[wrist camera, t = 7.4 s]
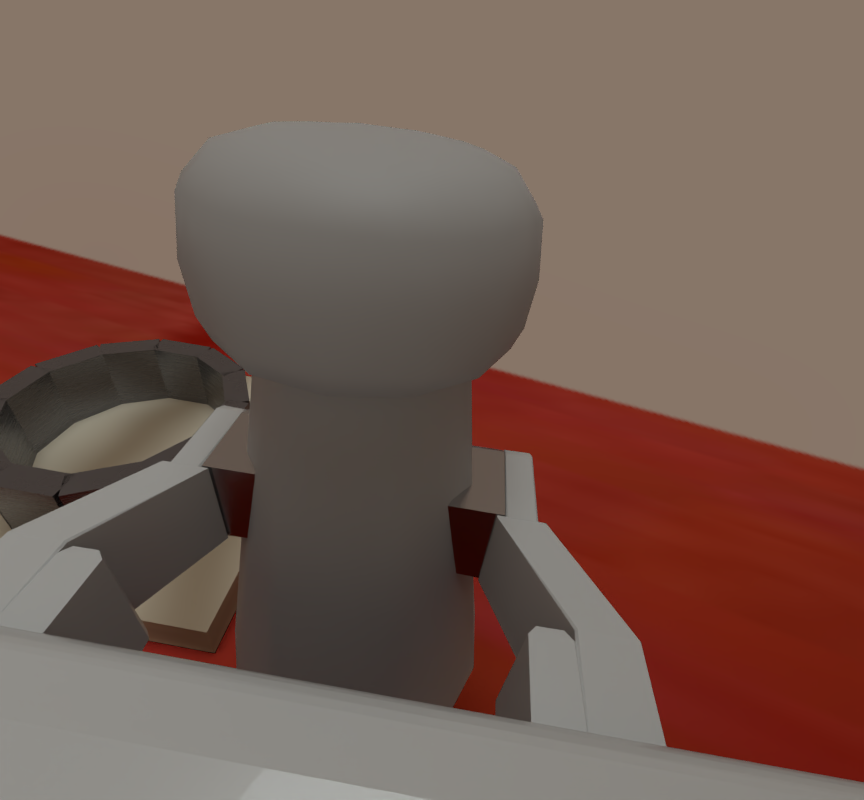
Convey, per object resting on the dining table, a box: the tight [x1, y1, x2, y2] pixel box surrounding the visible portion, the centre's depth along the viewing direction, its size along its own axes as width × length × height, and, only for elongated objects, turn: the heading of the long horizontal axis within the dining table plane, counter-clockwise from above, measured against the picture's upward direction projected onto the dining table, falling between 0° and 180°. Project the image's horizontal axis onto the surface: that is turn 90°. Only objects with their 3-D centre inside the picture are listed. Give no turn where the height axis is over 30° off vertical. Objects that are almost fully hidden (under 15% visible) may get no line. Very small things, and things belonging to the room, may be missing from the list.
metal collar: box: [0, 339, 250, 529], centre depth 20 cm, size 10×10×3 cm
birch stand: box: [0, 376, 252, 653], centre depth 21 cm, size 14×14×2 cm
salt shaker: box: [175, 122, 543, 708], centre depth 9 cm, size 6×6×13 cm
